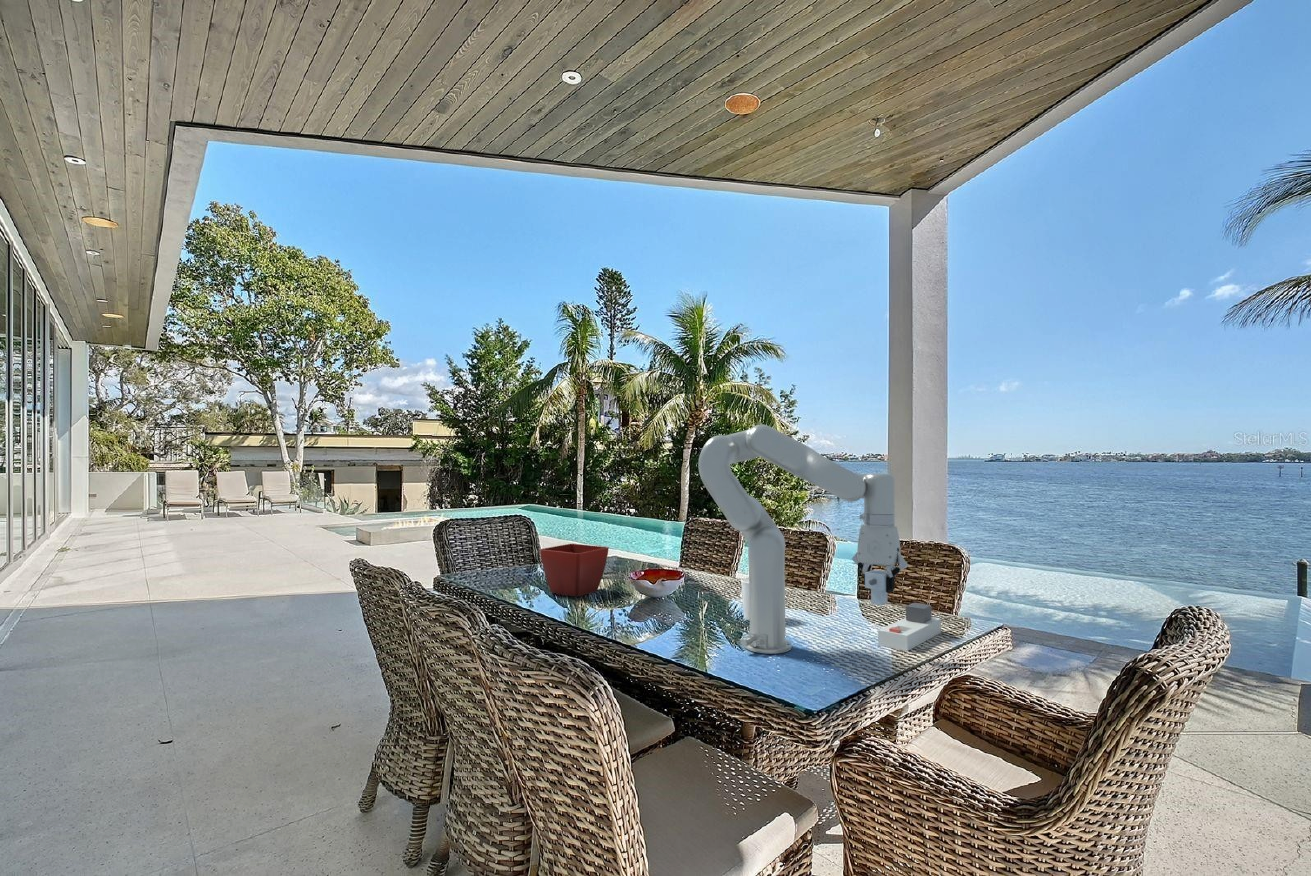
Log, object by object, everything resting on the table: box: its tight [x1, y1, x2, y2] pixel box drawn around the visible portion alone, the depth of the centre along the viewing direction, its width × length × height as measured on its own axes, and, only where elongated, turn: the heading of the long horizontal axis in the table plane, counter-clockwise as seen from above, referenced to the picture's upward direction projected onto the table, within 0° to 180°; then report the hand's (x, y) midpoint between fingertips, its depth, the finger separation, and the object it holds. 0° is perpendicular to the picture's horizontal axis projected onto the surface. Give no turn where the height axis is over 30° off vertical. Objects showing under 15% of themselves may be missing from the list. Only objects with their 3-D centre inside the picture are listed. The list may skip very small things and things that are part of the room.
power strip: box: [877, 616, 942, 652], centre depth 184 cm, size 24×8×5 cm, turn 137°
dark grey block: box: [905, 602, 933, 623], centre depth 189 cm, size 8×5×8 cm, turn 137°
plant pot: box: [539, 543, 609, 598], centre depth 248 cm, size 19×19×17 cm
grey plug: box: [864, 569, 888, 607], centre depth 170 cm, size 8×5×8 cm, turn 137°
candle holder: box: [740, 577, 750, 622], centre depth 208 cm, size 10×10×12 cm
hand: (879, 589), depth 171 cm, fingers closed on grey plug, 4 cm apart
